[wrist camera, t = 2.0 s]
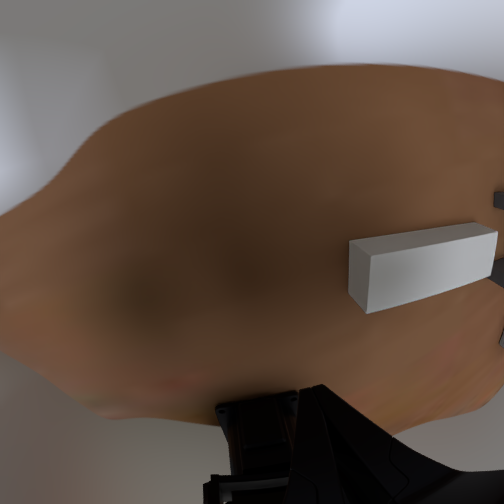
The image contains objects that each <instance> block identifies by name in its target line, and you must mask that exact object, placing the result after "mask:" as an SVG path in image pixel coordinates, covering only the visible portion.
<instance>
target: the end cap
mask: <svg viewBox="0 0 504 504" xmlns="http://www.w3.org/2000/svg"><path fill="white" fill-rule="evenodd" d="M494 207H497V208H500V209H503V210H504V192H495V193H494ZM487 278H488V279H490V280H492V281H493V282H495V283H497V284H498V285H500V286H501V287H503V288H504V258H502V259H499V260H497V261H494V262H493V266H492V271H491V275H490V276H488V277H487Z"/></svg>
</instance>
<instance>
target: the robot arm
mask: <svg viewBox="0 0 504 504" xmlns="http://www.w3.org/2000/svg"><path fill="white" fill-rule="evenodd" d="M215 413H216V415H217V418H218V420H219V423H220V425H221V428H222V430H223V432H224V435H225V437H226V440H227V442H228V446H229V457H230V468H231V475H218V474H212V475H211V481H209V482H207V483H205V484H203V499H204V500H203V504H223V502H227V503H225V504H504V470H495V471H478V472H465V471H459V470H455V469H452V468H450V467H447V466H445V465H443V464H441V463H439V462H436V461H434V460H432V459H430V458H428V457H426V456H424V455H422V454H420V453H418V452H416V451H414V450H412V449H411V448H409V447H408V446H406V445H405V444H403V443H401V442H400V441H399V440H397V439H396V438H394V437H393V438H392V436H391V435H390V434H389V433H387V432H386V431H384V430H383V429H382V428H380V427H379V426H378V425H376V424H375V423H373V422H372V421H371V420H369V419H368V418H367V417H365V416H364V415H363V414H361V413H360V412H359V411H357V410H356V409H355V408H353V407H352V406H351V405H349V404H348V403H347V402H345V401H344V400H343V399H342V398H340V397H339V396H338V395H336V394H335V393H334V392H333V391H331V390H330V389H329V388H327V387H326V386H325V385H323V384H320V385H316V386H312V387H311V388H310V387H308V388H304V389H300V390H299V393H298V392H295V391H294V392H289V393H284V394H279V395H274V396H269V397H264V398H258V399H252V400H246V401H239V402H233V403H225V404H219V405H217V406H216V407H215Z"/></svg>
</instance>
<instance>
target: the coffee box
mask: <svg viewBox="0 0 504 504" xmlns="http://www.w3.org/2000/svg"><path fill="white" fill-rule="evenodd" d="M499 344H500V345H501V346H502V347H503V348H504V331H503V334H502V337H501V340H500V343H499Z"/></svg>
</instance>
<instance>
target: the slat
mask: <svg viewBox="0 0 504 504" xmlns="http://www.w3.org/2000/svg"><path fill="white" fill-rule="evenodd" d="M497 236H498V231H495V230H493V229H491V228H488V227H486V226H483V225H481V224H478V223H476V222H472V223H465V224H458V225H451V226H445V227H438V228H431V229H424V230H418V231H411V232H404V233H397V234H390V235H384V236H377V237H370V238H363V239H356V240H349V280H348V293H349V295H350V296H351V297H352V298H353V299H354V300H355V301H356V303H357V304H358V305H359V306H360V307H361V308H362V310H363V311H364V312H365V313H366V314H369V313H373V312H376V311H380V310H384V309H388V308H392V307H395V306H399V305H402V304H406V303H409V302H413V301H416V300H420V299H423V298H426V297H429V296H433V295H436V294H439V293H442V292H445V291H448V290H451V289H454V288H457V287H460V286H463V285H466V284H469V283H471V282H474V281H477V280H480V279H482V278H485V277H488V276H490V275H491V271H492V266H493V261H494V255H495V249H496V243H497Z"/></svg>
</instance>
